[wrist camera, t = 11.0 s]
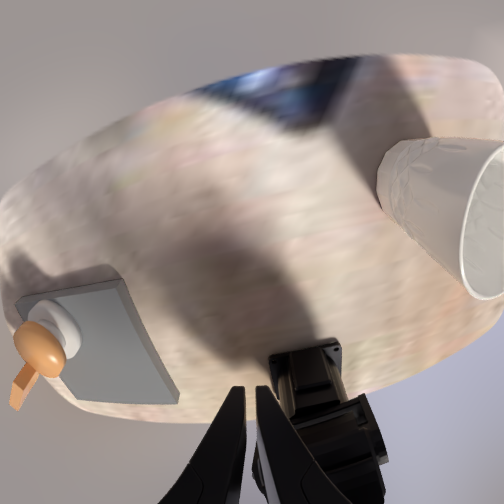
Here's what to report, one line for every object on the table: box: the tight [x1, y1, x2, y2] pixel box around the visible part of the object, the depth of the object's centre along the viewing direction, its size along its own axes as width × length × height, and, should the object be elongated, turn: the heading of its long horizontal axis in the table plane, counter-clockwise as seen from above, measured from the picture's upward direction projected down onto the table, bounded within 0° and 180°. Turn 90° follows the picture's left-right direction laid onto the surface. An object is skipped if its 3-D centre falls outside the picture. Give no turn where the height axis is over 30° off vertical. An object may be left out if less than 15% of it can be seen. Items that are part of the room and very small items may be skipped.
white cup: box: [376, 137, 504, 300], centre depth 13 cm, size 8×8×10 cm
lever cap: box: [9, 321, 67, 411], centre depth 17 cm, size 12×5×5 cm, turn 136°
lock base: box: [15, 279, 180, 404], centre depth 21 cm, size 14×14×4 cm
